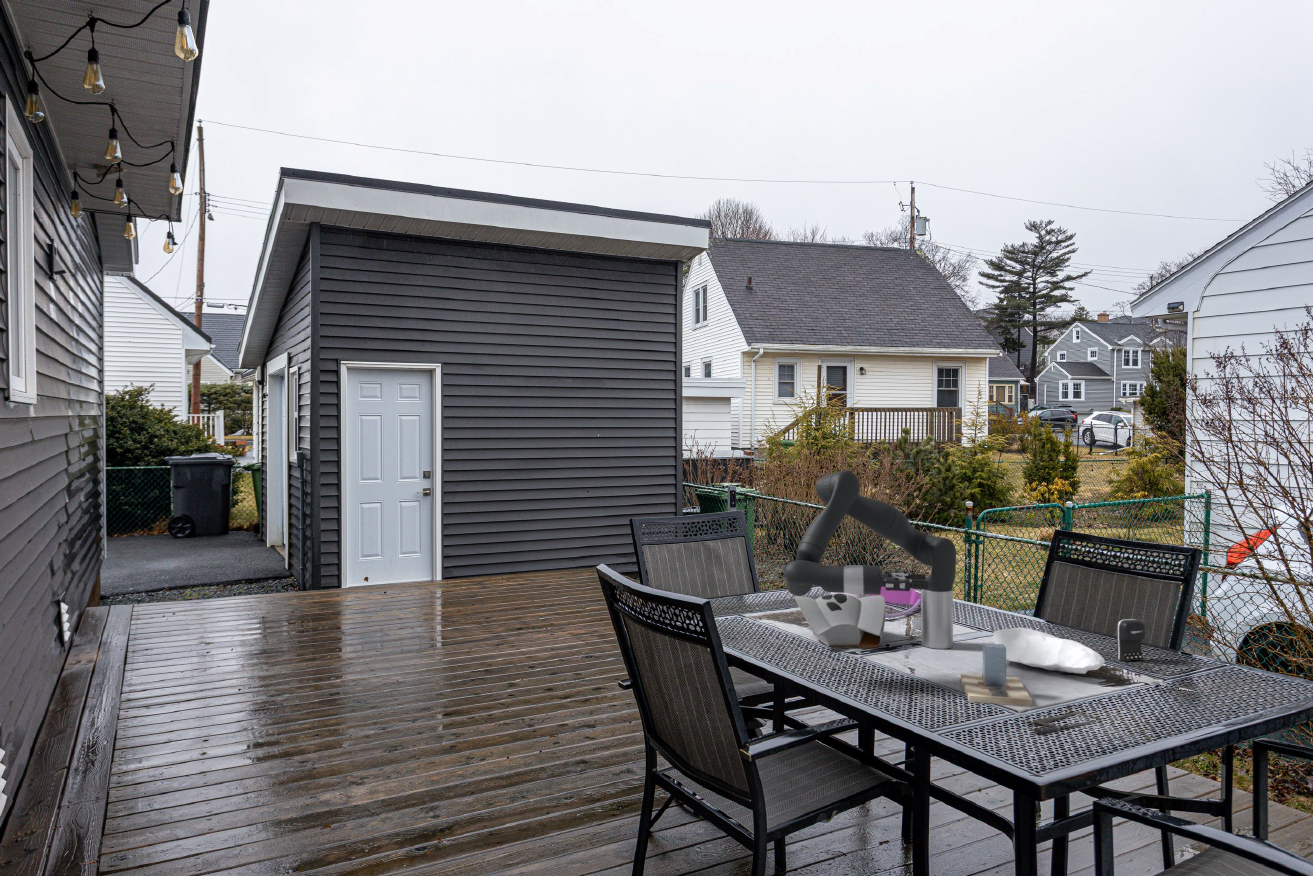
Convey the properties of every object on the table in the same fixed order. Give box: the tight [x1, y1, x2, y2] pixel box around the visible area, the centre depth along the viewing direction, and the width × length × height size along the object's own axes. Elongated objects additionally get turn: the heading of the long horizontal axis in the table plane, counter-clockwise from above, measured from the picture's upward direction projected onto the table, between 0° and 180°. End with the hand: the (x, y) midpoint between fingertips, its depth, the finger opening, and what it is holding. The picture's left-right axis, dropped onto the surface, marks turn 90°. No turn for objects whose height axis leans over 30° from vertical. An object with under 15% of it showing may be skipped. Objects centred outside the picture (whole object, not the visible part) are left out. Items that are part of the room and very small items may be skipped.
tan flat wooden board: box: [960, 673, 1033, 707], centre depth 201 cm, size 18×14×2 cm
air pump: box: [829, 587, 921, 619], centre depth 293 cm, size 32×38×10 cm
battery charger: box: [1116, 618, 1146, 662], centre depth 229 cm, size 7×4×11 cm, turn 101°
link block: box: [982, 643, 1007, 688], centre depth 201 cm, size 4×5×10 cm
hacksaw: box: [1021, 705, 1104, 736], centre depth 182 cm, size 24×10×2 cm, turn 115°
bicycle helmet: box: [794, 593, 886, 648], centre depth 253 cm, size 28×26×16 cm
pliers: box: [1133, 675, 1195, 692], centre depth 203 cm, size 10×2×15 cm
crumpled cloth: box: [992, 627, 1106, 675], centre depth 224 cm, size 24×35×9 cm
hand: (926, 581), depth 207 cm, fingers open, 8 cm apart
